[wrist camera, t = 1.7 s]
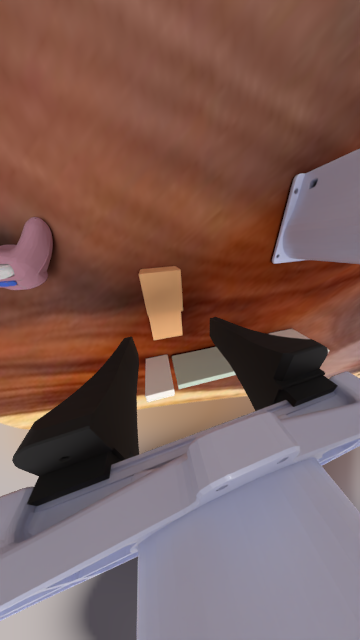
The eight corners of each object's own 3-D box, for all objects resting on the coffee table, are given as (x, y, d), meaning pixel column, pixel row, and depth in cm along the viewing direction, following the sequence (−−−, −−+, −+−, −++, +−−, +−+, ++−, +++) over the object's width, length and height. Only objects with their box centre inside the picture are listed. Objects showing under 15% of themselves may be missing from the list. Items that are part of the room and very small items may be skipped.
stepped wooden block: (140, 269, 17) (138, 274, 14) (174, 265, 17) (180, 269, 14) (153, 333, 22) (154, 346, 19) (179, 328, 22) (184, 340, 19)
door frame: (145, 358, 24) (145, 396, 18) (291, 328, 29) (329, 350, 23) (147, 364, 25) (147, 402, 19) (289, 334, 30) (325, 356, 24)
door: (171, 355, 24) (178, 384, 19) (267, 335, 27) (294, 355, 22) (172, 362, 25) (179, 392, 20) (264, 342, 28) (290, 363, 23)
